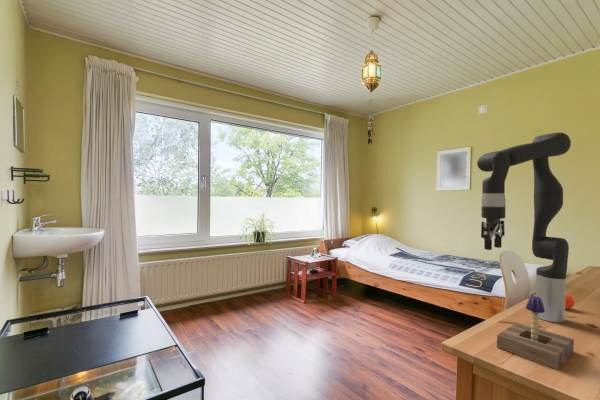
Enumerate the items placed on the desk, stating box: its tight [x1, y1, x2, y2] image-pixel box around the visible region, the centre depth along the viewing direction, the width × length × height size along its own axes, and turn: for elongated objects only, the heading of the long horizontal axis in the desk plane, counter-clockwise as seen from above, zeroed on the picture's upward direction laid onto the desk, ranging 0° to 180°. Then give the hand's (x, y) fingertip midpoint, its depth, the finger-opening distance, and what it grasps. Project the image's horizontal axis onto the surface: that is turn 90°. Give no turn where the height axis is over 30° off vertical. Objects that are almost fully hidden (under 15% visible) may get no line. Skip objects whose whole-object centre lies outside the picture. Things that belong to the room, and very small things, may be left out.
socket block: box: [496, 322, 575, 370], centre depth 93 cm, size 18×15×4 cm
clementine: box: [565, 293, 575, 310], centre depth 134 cm, size 8×7×7 cm
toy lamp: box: [525, 295, 545, 342], centre depth 93 cm, size 5×5×17 cm
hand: (493, 248), depth 111 cm, fingers open, 8 cm apart
